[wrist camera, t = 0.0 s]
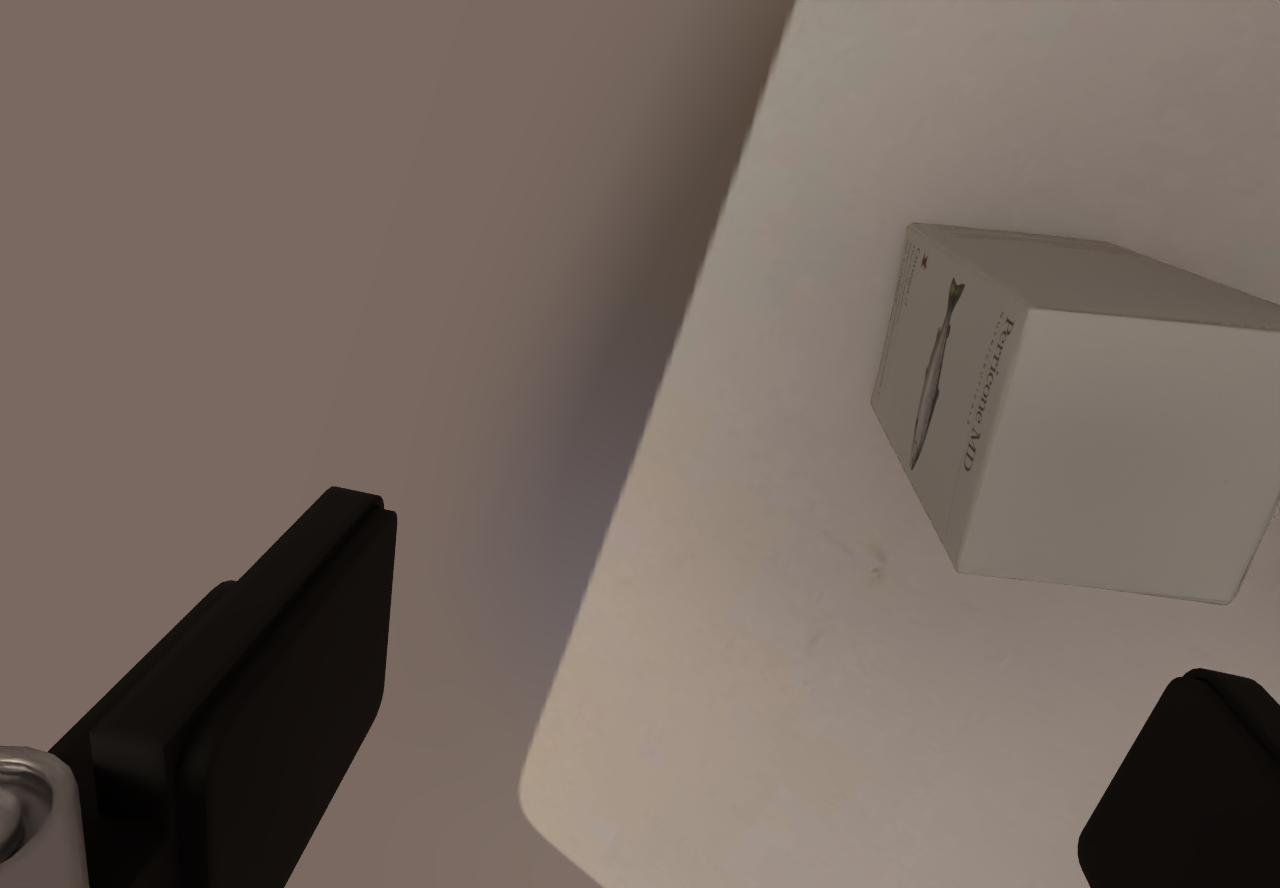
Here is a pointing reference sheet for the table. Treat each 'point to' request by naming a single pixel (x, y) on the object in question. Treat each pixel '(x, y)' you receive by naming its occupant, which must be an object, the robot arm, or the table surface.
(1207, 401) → the white packaging box
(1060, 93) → the table surface
